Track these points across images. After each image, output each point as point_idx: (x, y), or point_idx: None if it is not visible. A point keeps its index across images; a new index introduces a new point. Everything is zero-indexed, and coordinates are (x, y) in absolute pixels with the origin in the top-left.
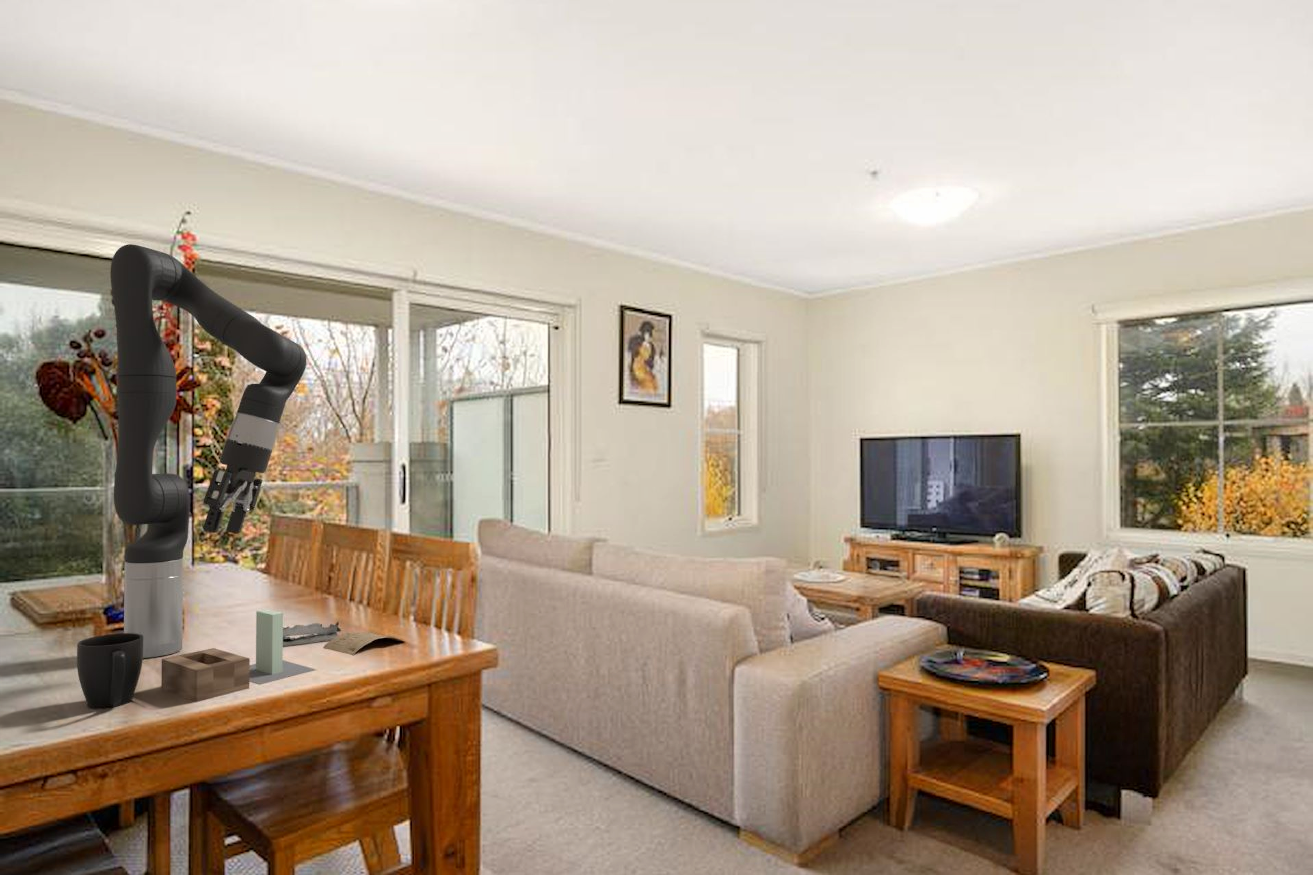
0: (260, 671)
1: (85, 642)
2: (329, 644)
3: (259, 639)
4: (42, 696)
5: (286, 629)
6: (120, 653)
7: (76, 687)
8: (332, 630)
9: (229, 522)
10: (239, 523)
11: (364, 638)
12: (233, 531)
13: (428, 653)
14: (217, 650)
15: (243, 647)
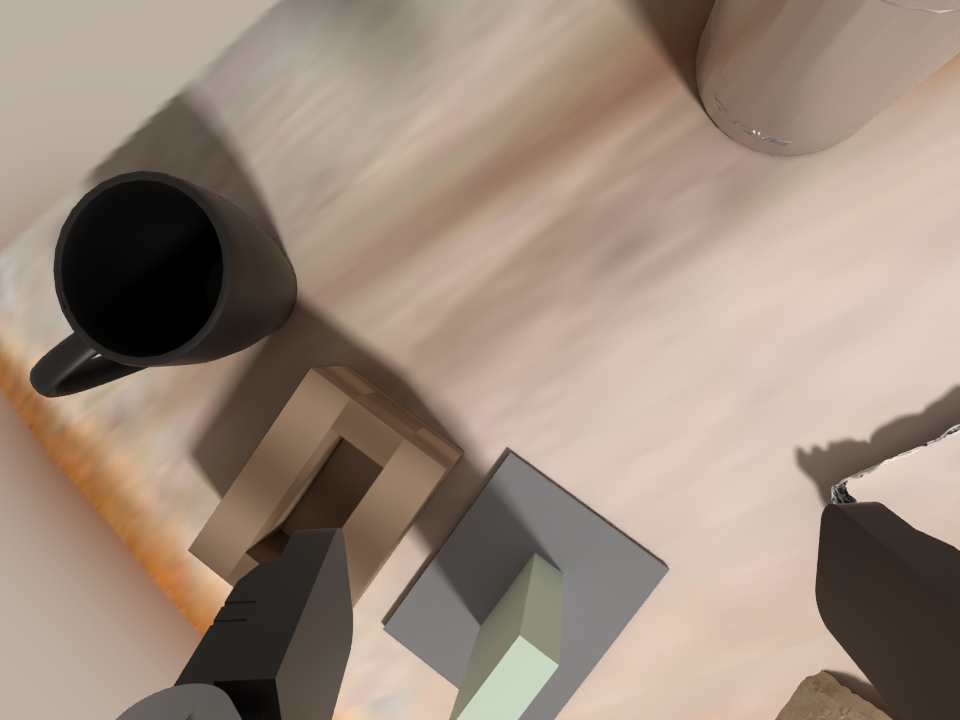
0: (513, 576)
1: (140, 184)
2: (831, 710)
3: (515, 607)
4: (302, 65)
5: None
6: (39, 383)
7: (380, 98)
8: None
9: (883, 558)
10: (879, 677)
11: None
12: (823, 577)
13: None
14: (414, 498)
15: (859, 365)
